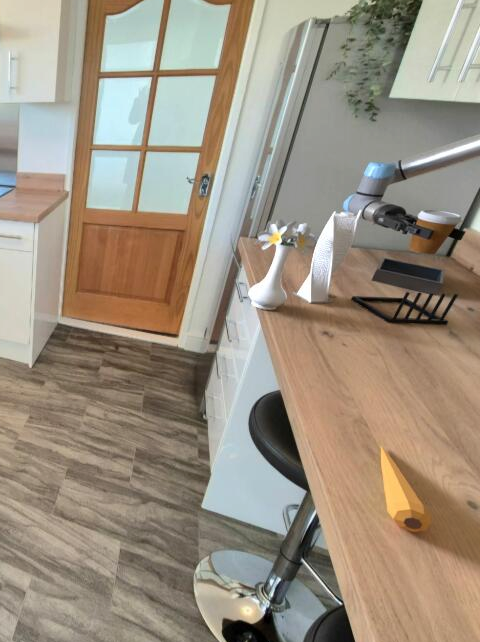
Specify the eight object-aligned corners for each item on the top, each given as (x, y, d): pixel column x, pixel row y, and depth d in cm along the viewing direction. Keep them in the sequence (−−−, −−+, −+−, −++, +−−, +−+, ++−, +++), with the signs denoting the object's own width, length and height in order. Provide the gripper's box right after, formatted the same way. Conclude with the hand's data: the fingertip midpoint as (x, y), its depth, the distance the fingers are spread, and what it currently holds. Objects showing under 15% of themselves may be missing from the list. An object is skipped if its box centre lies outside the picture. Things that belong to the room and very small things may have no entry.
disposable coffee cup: (394, 247, 137) (412, 210, 132) (413, 244, 140) (431, 208, 134) (430, 257, 129) (451, 219, 124) (450, 254, 132) (471, 216, 126)
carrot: (414, 542, 61) (445, 527, 59) (382, 519, 62) (410, 504, 60) (382, 460, 77) (405, 446, 75) (356, 443, 78) (378, 429, 76)
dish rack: (403, 301, 128) (418, 273, 124) (446, 324, 115) (464, 295, 111) (350, 299, 129) (363, 272, 125) (388, 322, 116) (403, 293, 112)
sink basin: (377, 268, 151) (382, 257, 149) (438, 281, 141) (444, 270, 139) (371, 280, 141) (376, 269, 140) (435, 295, 132) (442, 283, 130)
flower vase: (294, 301, 128) (327, 219, 116) (282, 323, 116) (317, 234, 104) (245, 288, 135) (271, 210, 124) (229, 308, 123) (256, 224, 112)
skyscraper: (336, 305, 126) (378, 211, 113) (310, 305, 125) (349, 211, 112) (313, 292, 133) (351, 203, 120) (289, 293, 132) (323, 203, 120)
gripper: (411, 225, 149) (476, 248, 128) (348, 224, 150) (403, 246, 129) (422, 204, 145) (490, 224, 125) (357, 203, 146) (415, 222, 126)
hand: (446, 235), depth 127 cm, fingers closed on disposable coffee cup, 8 cm apart
